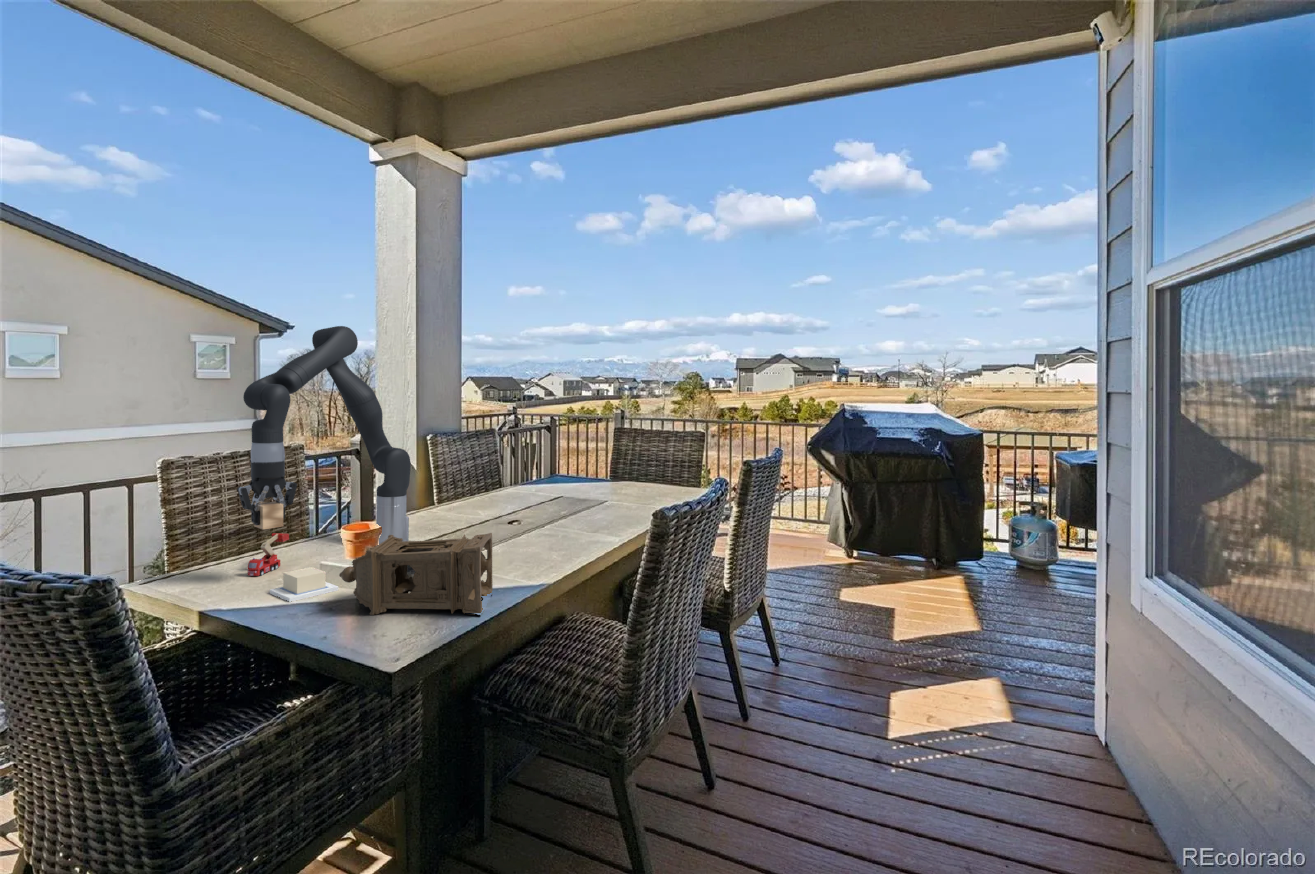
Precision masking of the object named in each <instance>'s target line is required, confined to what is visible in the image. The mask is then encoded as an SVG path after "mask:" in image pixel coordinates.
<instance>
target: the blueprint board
mask: <svg viewBox="0 0 1315 874" xmlns="http://www.w3.org/2000/svg"><path fill="white" fill-rule="evenodd" d="M282 574H283V575H282V577H283V579H282V580H283V581H282V586H280V587H275V588H271V589H269V594H270V595H272V596H275V597H277V596H278V597H277V598H279V597H280V598H279V599H282V600H283V601H286V600H287V602H288V601H289V602H288V603H292V602H296V600H297V601H300V600H305V599H309V598H312V597H316V596H321V595H324V594H327V593H328V594H329V593H333V592H337V591H339V586H338V585H336V584H333V583H330V582H327V581H326V580H327V579H326V577H327V574H326V571H325V570H321V569H318V568H315V567H314V566H310V567H309V566H308V567H304V568H301V569H295V570H290V571H285V572H282ZM291 601H292V602H291Z"/></svg>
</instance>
